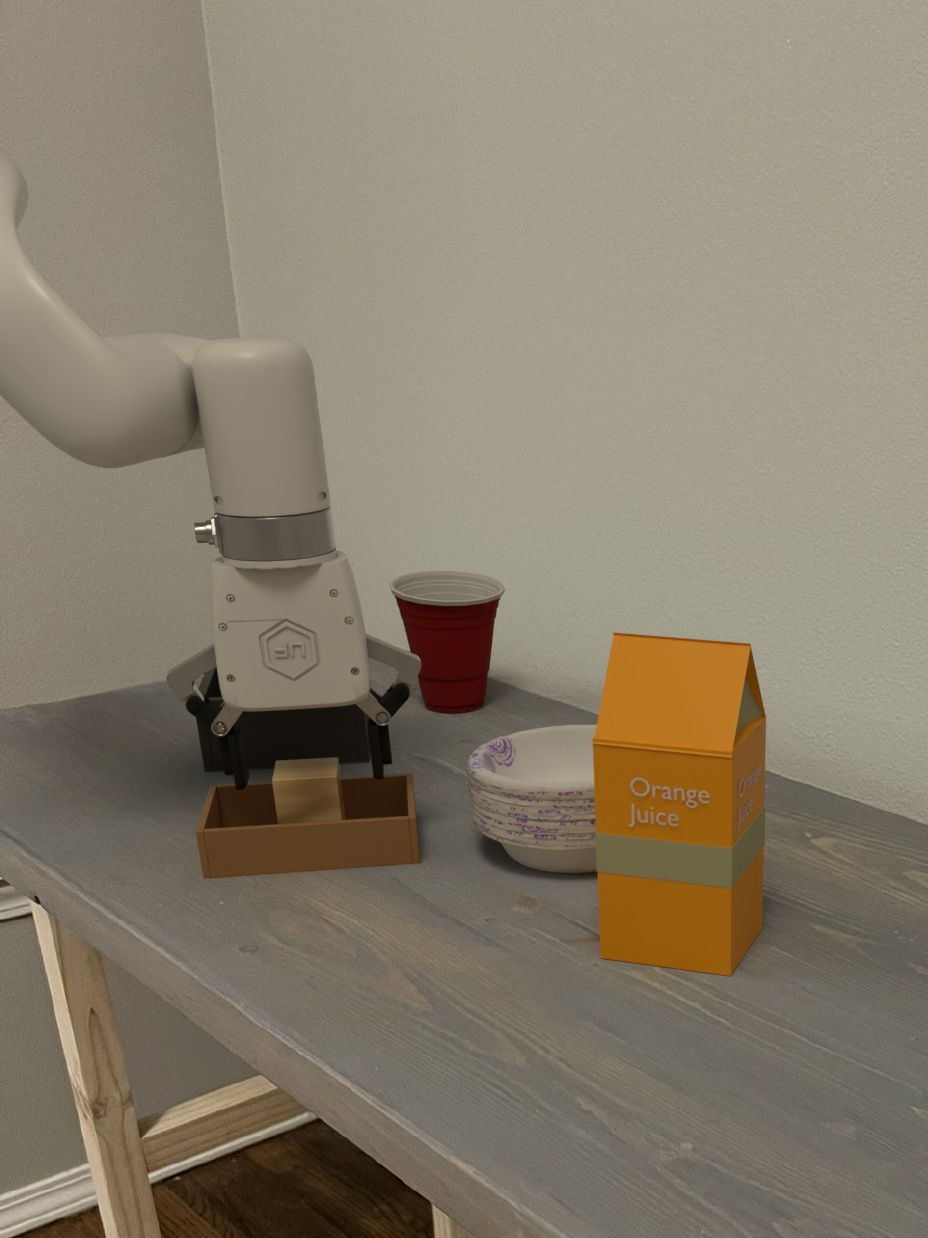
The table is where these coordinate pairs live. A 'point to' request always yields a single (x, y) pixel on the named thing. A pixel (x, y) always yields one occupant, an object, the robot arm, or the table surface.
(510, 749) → the paper bowls
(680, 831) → the orange juice
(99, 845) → the table surface
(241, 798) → the box
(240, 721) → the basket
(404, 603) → the plastic cup
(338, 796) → the block
